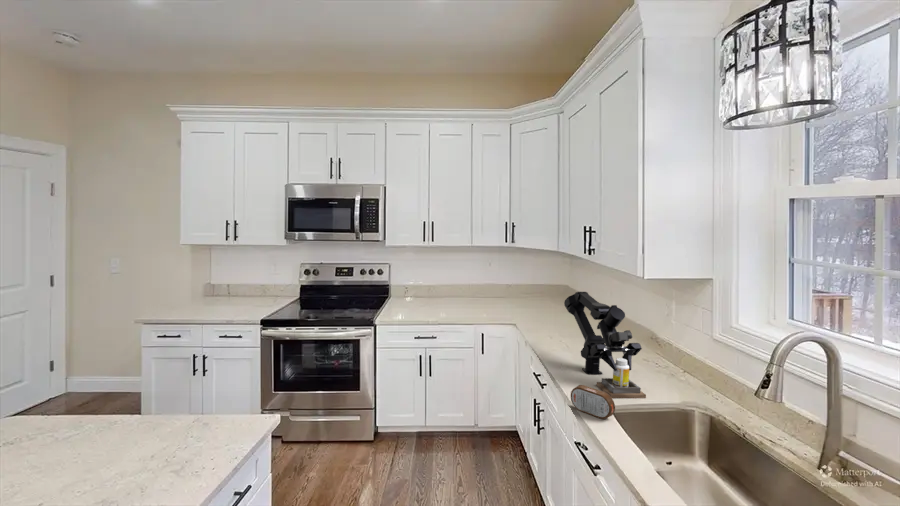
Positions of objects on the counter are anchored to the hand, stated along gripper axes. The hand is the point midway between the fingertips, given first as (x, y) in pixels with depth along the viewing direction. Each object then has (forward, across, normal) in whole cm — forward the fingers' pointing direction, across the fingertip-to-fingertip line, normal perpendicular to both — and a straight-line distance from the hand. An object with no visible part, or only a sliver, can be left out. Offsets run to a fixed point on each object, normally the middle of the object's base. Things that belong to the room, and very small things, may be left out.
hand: (623, 370), depth 164 cm
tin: (+18, -21, -6) cm, 28 cm away
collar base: (+5, 0, +7) cm, 9 cm away
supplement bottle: (+4, 0, +6) cm, 7 cm away
